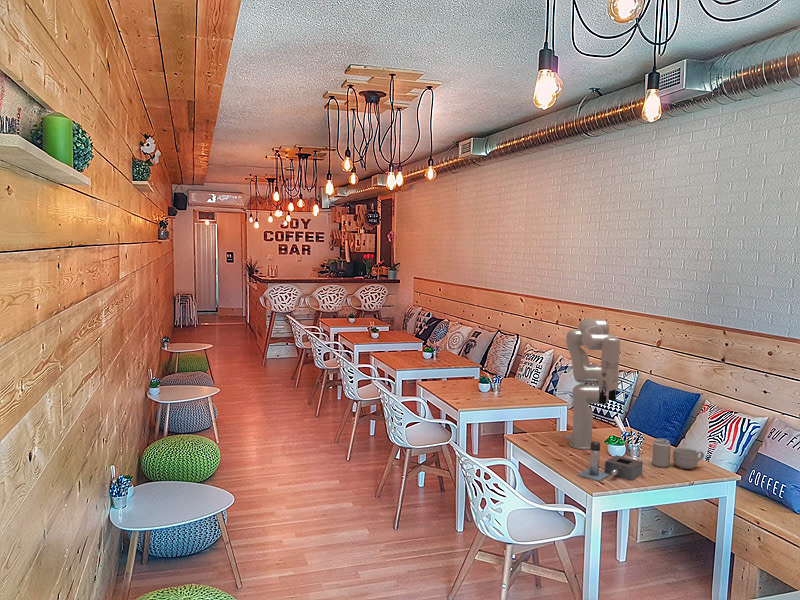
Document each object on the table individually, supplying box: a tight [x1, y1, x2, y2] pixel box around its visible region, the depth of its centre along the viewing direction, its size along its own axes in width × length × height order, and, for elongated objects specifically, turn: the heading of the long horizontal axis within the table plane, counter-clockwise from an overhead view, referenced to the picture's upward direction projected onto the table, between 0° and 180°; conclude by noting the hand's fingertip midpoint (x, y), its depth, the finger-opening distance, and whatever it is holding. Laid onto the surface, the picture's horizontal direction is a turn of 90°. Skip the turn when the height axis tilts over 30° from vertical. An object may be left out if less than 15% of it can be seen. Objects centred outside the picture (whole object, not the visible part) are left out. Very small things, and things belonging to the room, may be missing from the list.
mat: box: [577, 468, 610, 482], centre depth 264 cm, size 10×10×1 cm
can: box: [651, 438, 672, 468], centre depth 281 cm, size 8×8×12 cm
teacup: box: [672, 447, 705, 470], centre depth 280 cm, size 14×11×8 cm
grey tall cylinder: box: [588, 440, 601, 476], centre depth 264 cm, size 4×4×14 cm
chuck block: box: [604, 454, 643, 481], centre depth 266 cm, size 12×18×6 cm, turn 138°
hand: (607, 401), depth 273 cm, fingers open, 9 cm apart
